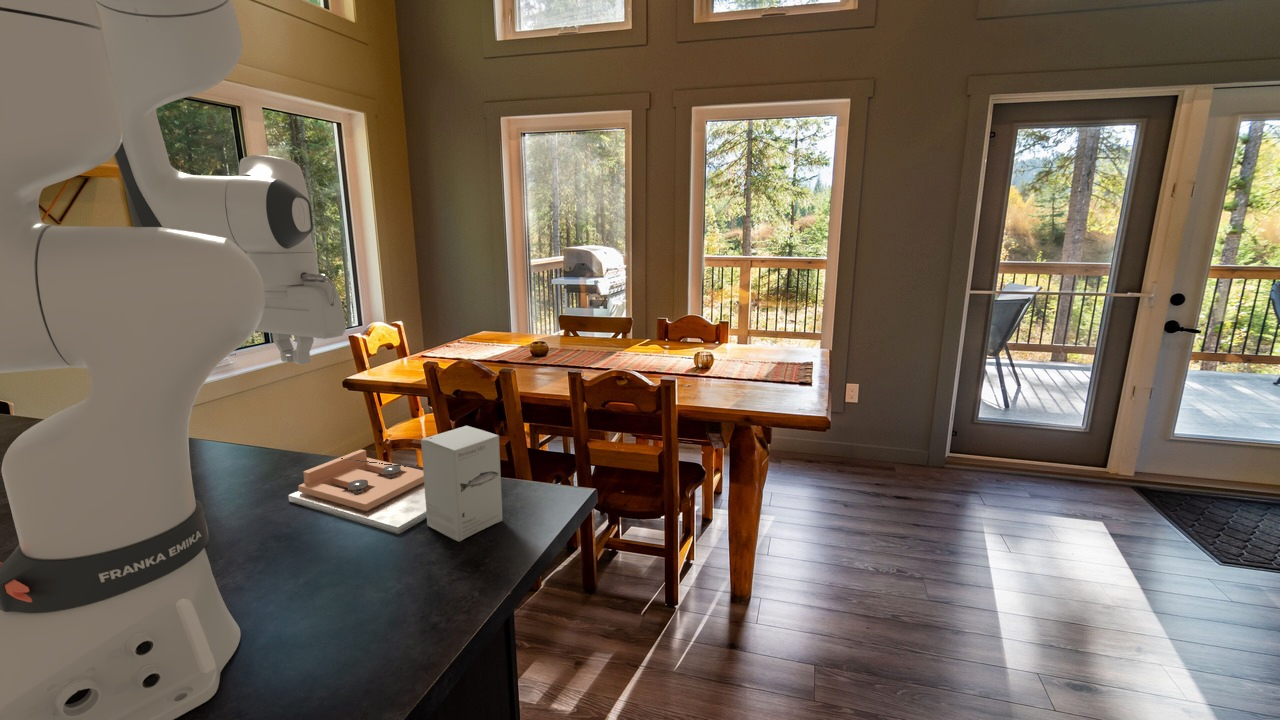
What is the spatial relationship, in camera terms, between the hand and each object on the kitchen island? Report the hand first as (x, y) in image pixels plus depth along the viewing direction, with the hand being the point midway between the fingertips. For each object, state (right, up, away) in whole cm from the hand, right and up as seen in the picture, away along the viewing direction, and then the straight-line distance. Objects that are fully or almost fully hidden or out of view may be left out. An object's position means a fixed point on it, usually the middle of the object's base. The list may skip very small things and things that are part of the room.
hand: (296, 362), depth 88 cm
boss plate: (+14, -20, -2) cm, 25 cm away
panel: (+12, -19, -2) cm, 22 cm away
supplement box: (+29, -22, -10) cm, 38 cm away
